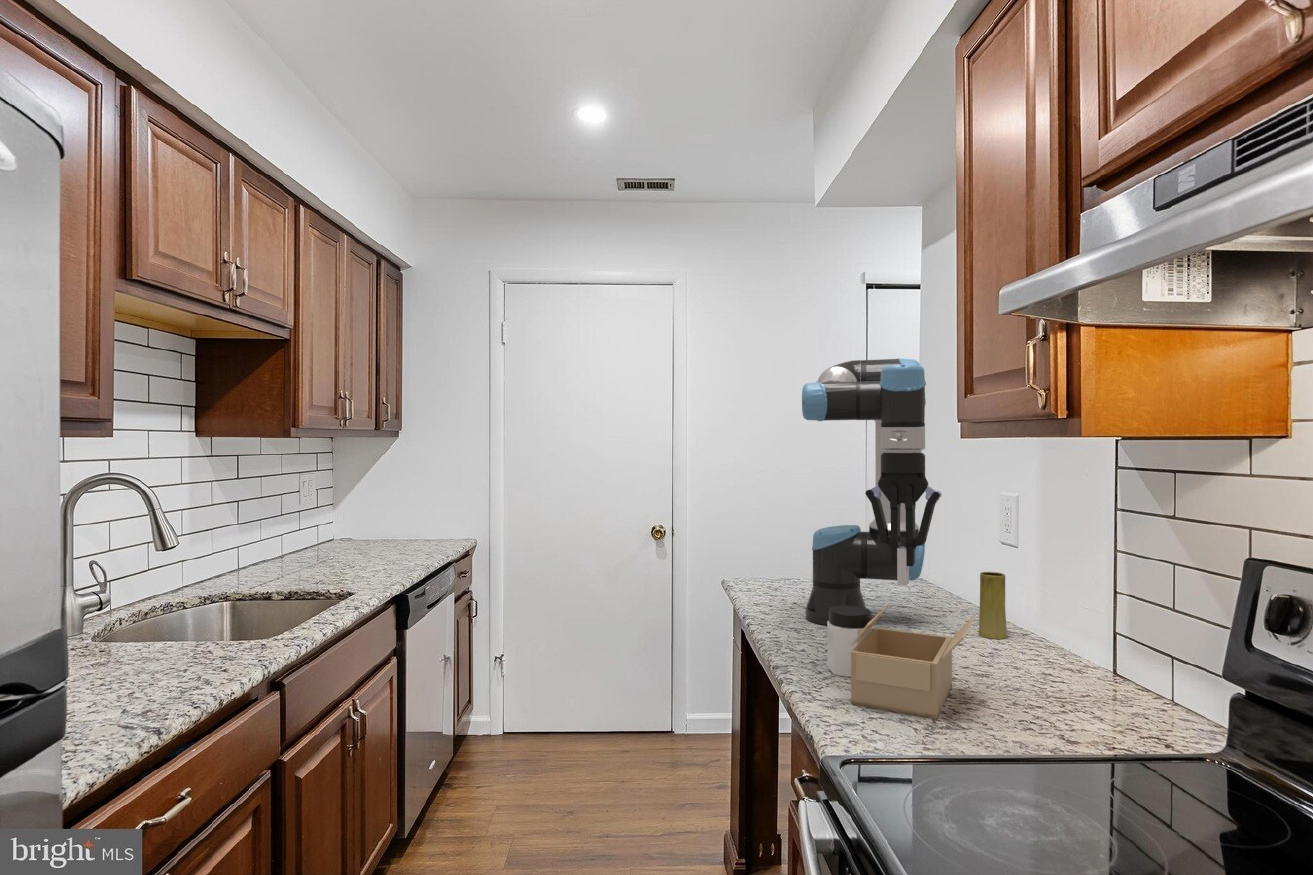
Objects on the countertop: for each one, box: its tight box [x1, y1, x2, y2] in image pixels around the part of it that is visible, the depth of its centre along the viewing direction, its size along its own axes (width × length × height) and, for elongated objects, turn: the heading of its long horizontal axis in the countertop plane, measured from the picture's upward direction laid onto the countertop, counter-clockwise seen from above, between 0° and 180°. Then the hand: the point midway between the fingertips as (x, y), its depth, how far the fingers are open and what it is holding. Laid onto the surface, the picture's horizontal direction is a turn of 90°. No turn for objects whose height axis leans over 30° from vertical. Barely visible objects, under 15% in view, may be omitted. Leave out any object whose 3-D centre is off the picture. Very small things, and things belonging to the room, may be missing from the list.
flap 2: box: [942, 615, 975, 659], centre depth 126 cm, size 16×5×1 cm
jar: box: [826, 606, 875, 678], centre depth 143 cm, size 9×8×12 cm
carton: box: [850, 627, 953, 720], centre depth 130 cm, size 19×14×9 cm
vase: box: [978, 571, 1008, 640], centre depth 168 cm, size 6×6×14 cm
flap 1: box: [851, 604, 889, 646], centre depth 133 cm, size 16×5×1 cm
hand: (903, 583), depth 130 cm, fingers closed
